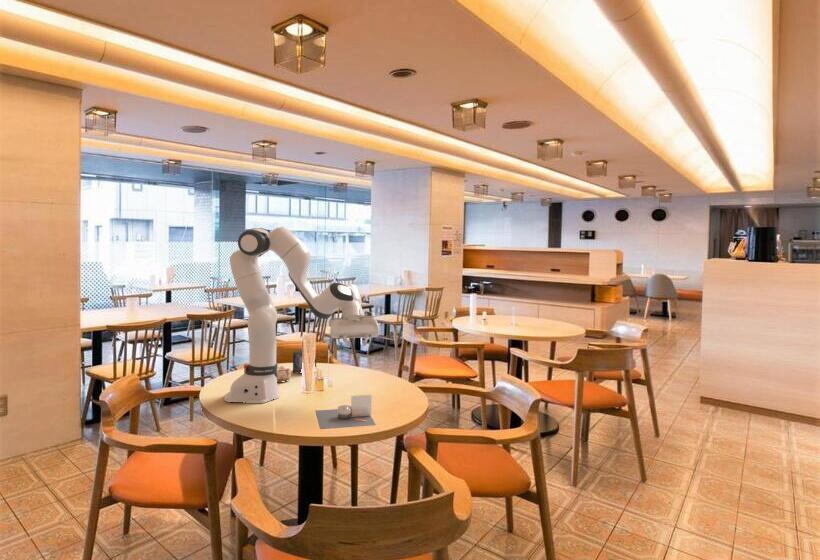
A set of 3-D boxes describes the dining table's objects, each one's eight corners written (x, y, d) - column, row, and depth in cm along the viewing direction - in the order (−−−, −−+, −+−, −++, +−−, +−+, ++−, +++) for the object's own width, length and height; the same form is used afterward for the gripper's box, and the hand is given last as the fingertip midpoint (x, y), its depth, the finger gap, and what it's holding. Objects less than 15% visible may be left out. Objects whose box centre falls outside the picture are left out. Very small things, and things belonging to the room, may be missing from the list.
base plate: (320, 431, 177) (320, 428, 177) (315, 413, 196) (315, 409, 196) (376, 427, 182) (376, 424, 182) (365, 409, 202) (365, 406, 202)
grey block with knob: (338, 419, 186) (339, 399, 186) (337, 414, 191) (337, 395, 190) (372, 417, 190) (372, 397, 189) (369, 412, 194) (369, 393, 194)
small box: (291, 372, 255) (292, 352, 255) (299, 369, 262) (299, 349, 261) (310, 375, 252) (310, 354, 251) (316, 372, 258) (317, 351, 257)
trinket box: (293, 382, 238) (293, 366, 238) (262, 386, 230) (262, 369, 230) (284, 375, 250) (284, 360, 249) (254, 379, 242) (254, 363, 241)
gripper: (329, 313, 207) (331, 341, 198) (377, 312, 212) (382, 340, 203) (327, 322, 211) (329, 350, 203) (375, 321, 217) (379, 348, 208)
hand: (356, 345), depth 203 cm, fingers open, 5 cm apart
